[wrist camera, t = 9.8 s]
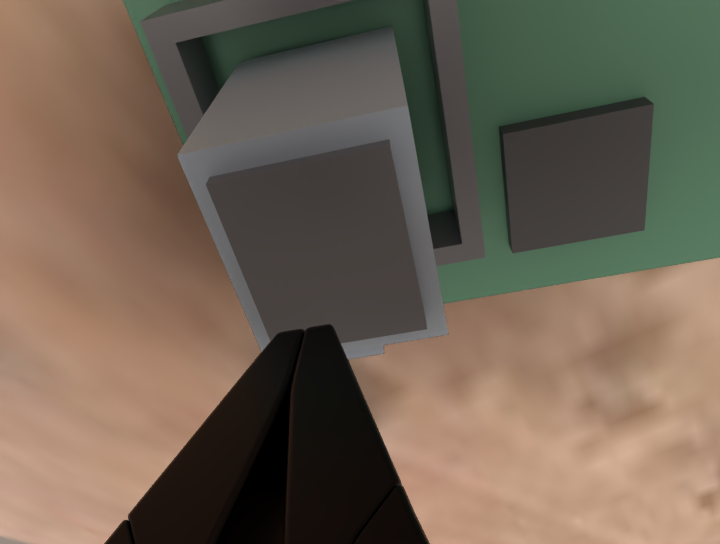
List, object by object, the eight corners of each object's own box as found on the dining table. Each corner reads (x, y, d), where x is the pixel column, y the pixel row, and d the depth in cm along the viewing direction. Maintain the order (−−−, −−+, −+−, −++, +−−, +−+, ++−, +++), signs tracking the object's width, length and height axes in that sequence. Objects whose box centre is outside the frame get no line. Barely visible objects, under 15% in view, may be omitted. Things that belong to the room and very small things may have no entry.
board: (814, -414, 11) (942, -496, 9) (713, 239, 20) (763, 292, 17) (63, -188, 13) (-7, -203, 11) (265, 316, 22) (253, 373, 19)
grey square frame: (439, -63, 14) (450, -55, 12) (474, 222, 18) (485, 257, 16) (165, 4, 14) (139, 21, 13) (262, 261, 19) (252, 298, 17)
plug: (392, 25, 14) (409, 111, 9) (427, 221, 17) (454, 368, 12) (239, 61, 15) (172, 162, 10) (300, 245, 18) (274, 396, 13)
